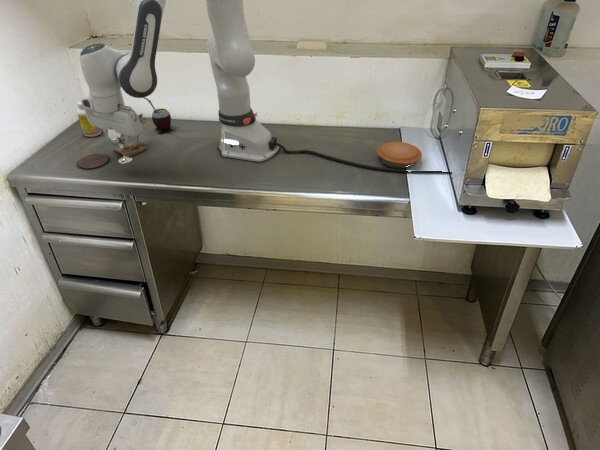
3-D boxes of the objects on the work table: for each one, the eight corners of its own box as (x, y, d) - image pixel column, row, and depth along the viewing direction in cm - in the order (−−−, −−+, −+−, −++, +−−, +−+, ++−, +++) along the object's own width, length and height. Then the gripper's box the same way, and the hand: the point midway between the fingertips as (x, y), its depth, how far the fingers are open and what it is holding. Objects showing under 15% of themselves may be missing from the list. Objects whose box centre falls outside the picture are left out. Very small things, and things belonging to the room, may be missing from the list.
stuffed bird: (99, 161, 153) (85, 114, 143) (134, 137, 168) (123, 93, 158) (123, 166, 151) (110, 119, 140) (156, 141, 166) (147, 97, 155)
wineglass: (128, 165, 142) (119, 130, 134) (112, 163, 142) (102, 129, 135) (137, 156, 146) (128, 123, 139) (121, 155, 147) (112, 121, 140)
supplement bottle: (98, 137, 168) (88, 105, 160) (81, 137, 168) (70, 105, 160) (104, 130, 173) (95, 98, 166) (88, 130, 174) (78, 98, 166)
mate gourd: (176, 127, 176) (169, 90, 167) (166, 135, 170) (159, 98, 160) (159, 125, 177) (151, 89, 168) (149, 133, 171) (141, 96, 162)
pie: (368, 153, 159) (370, 141, 156) (408, 148, 162) (410, 136, 159) (385, 174, 147) (387, 161, 144) (427, 169, 150) (430, 156, 147)
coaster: (114, 159, 155) (114, 157, 154) (92, 171, 148) (91, 170, 147) (94, 152, 158) (94, 151, 158) (71, 165, 151) (71, 163, 151)
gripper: (141, 103, 130) (151, 145, 139) (93, 92, 138) (105, 133, 146) (125, 111, 126) (137, 154, 134) (76, 99, 134) (90, 140, 142)
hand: (120, 143), depth 140 cm, fingers closed on wineglass, 5 cm apart
